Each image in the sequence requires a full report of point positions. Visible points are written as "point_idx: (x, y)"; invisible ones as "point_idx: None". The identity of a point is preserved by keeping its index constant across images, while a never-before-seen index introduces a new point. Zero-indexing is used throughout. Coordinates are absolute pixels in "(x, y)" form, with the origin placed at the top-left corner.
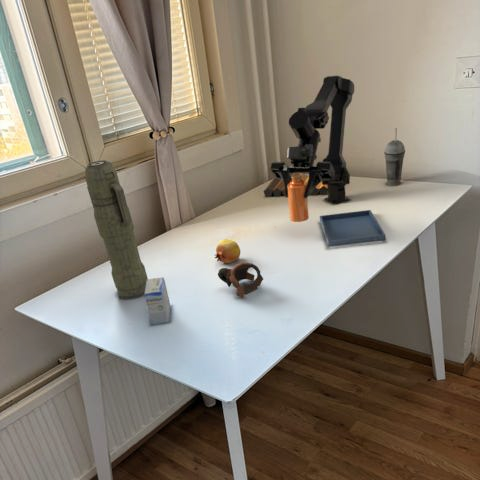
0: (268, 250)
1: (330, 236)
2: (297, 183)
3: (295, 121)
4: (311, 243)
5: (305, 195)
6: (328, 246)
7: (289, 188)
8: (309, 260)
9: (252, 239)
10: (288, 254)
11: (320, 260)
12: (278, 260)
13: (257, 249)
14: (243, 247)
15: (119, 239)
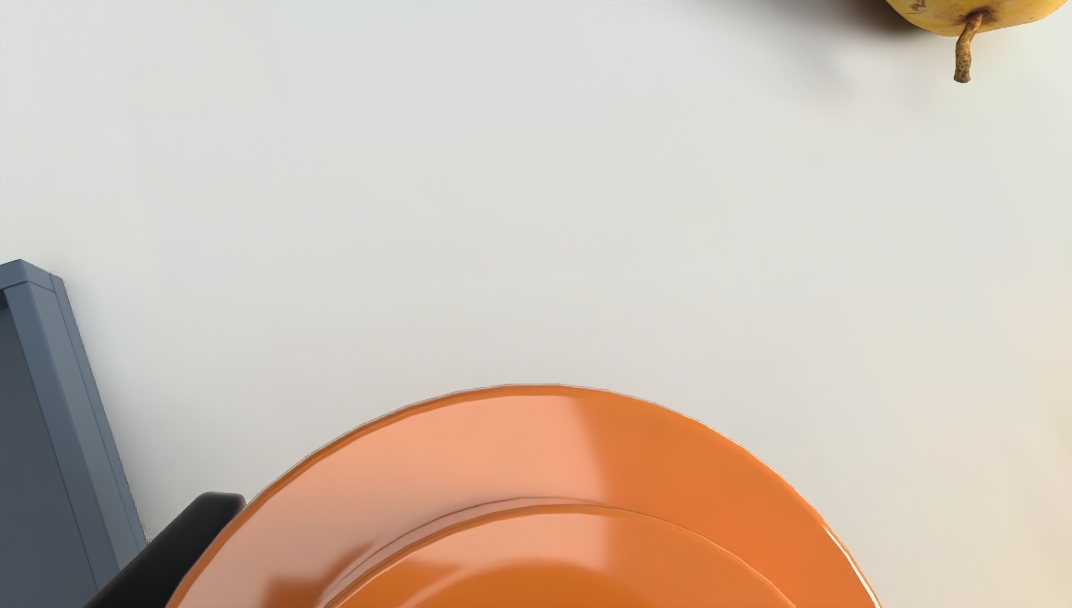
0: (678, 206)
1: (66, 551)
2: (427, 560)
3: None
4: (285, 404)
5: (195, 506)
6: (47, 273)
7: (722, 449)
8: (214, 21)
9: (939, 446)
10: (456, 133)
11: (103, 24)
12: (510, 12)
13: (790, 221)
14: (936, 255)
15: None
